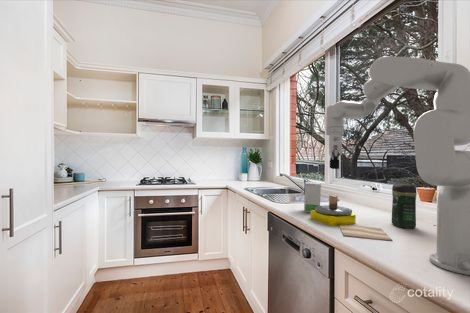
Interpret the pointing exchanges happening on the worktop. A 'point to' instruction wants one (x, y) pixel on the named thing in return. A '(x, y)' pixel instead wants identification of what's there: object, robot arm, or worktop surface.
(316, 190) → the skincare box
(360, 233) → the mat
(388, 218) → the worktop surface
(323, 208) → the lid
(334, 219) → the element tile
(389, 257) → the worktop surface
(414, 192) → the coffee jar
